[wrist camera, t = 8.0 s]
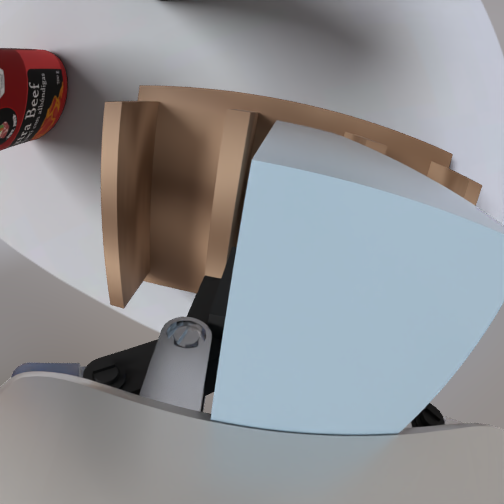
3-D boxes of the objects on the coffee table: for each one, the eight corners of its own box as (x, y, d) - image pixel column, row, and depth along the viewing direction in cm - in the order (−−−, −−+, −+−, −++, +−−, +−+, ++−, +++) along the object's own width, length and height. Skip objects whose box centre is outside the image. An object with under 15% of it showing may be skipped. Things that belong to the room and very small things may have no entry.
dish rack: (149, 86, 16) (98, 82, 11) (441, 150, 16) (493, 170, 10) (140, 268, 22) (106, 314, 17) (378, 314, 22) (397, 367, 17)
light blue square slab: (276, 119, 12) (252, 160, 2) (335, 133, 12) (531, 246, 2) (237, 321, 18) (198, 510, 7) (281, 329, 18) (270, 520, 7)
